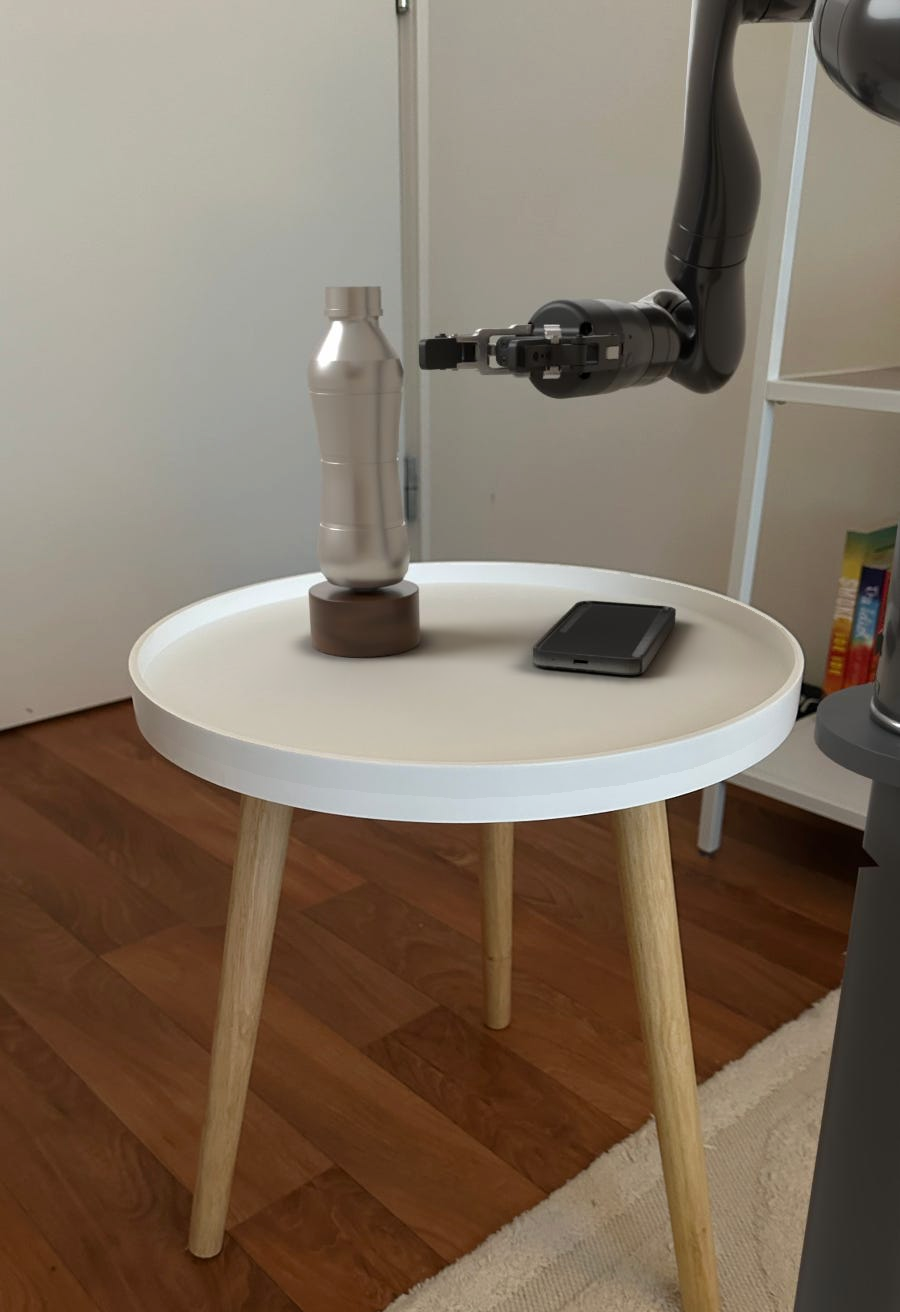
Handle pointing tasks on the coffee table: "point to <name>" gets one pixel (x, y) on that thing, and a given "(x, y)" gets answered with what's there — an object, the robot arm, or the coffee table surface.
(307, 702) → the coffee table surface
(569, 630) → the phone
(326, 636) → the cylinder
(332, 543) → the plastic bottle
